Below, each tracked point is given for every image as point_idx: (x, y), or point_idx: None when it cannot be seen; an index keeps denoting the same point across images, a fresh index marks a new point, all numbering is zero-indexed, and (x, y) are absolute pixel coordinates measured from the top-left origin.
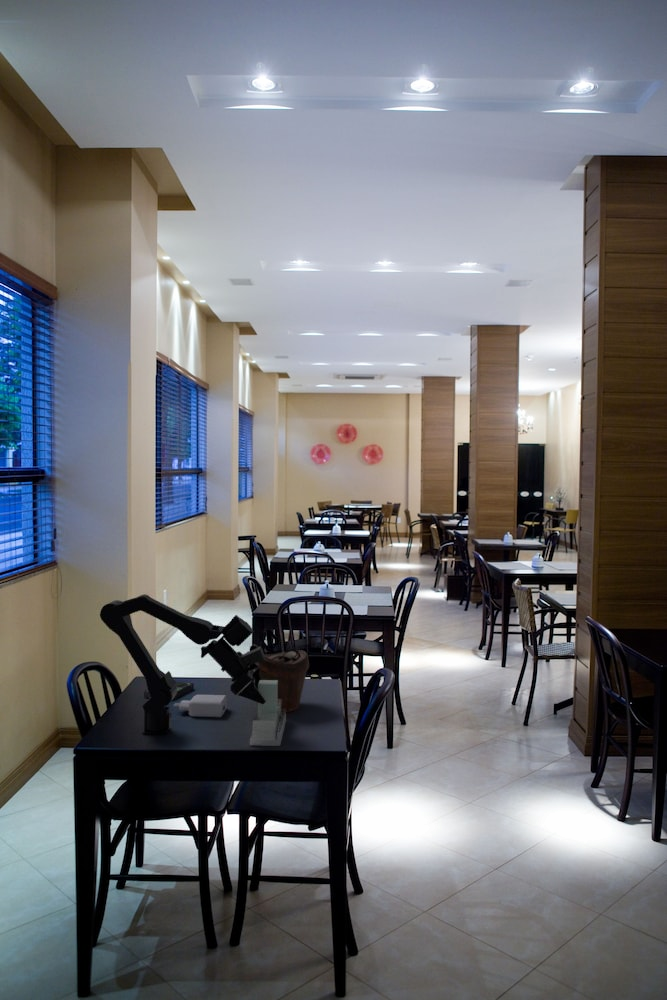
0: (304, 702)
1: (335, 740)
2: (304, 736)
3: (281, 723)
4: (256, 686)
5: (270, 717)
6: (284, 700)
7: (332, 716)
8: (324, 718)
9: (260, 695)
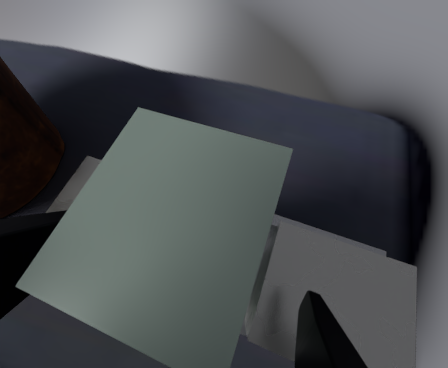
0: None
1: (325, 110)
2: None
3: None
4: (3, 293)
5: (355, 277)
6: (34, 143)
7: (152, 76)
8: (158, 93)
9: (361, 364)
